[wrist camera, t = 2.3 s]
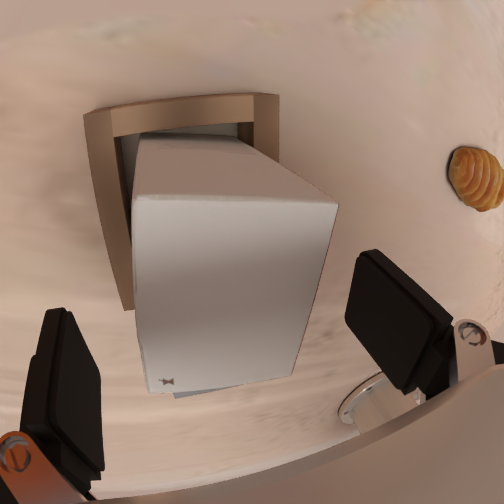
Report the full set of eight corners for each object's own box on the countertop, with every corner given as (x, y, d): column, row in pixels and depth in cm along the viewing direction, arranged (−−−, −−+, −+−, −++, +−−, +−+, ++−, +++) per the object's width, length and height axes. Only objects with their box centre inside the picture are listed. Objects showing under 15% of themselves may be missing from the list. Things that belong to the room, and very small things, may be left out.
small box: (224, 243, 24) (293, 380, 13) (137, 245, 22) (144, 398, 11) (236, 133, 20) (345, 201, 10) (139, 130, 18) (125, 197, 8)
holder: (259, 92, 19) (279, 95, 17) (260, 258, 26) (275, 283, 23) (93, 110, 17) (83, 115, 14) (125, 281, 23) (124, 310, 20)
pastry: (434, 189, 28) (461, 204, 25) (454, 129, 26) (483, 139, 23) (474, 208, 32) (497, 222, 29) (492, 158, 29) (516, 169, 26)
